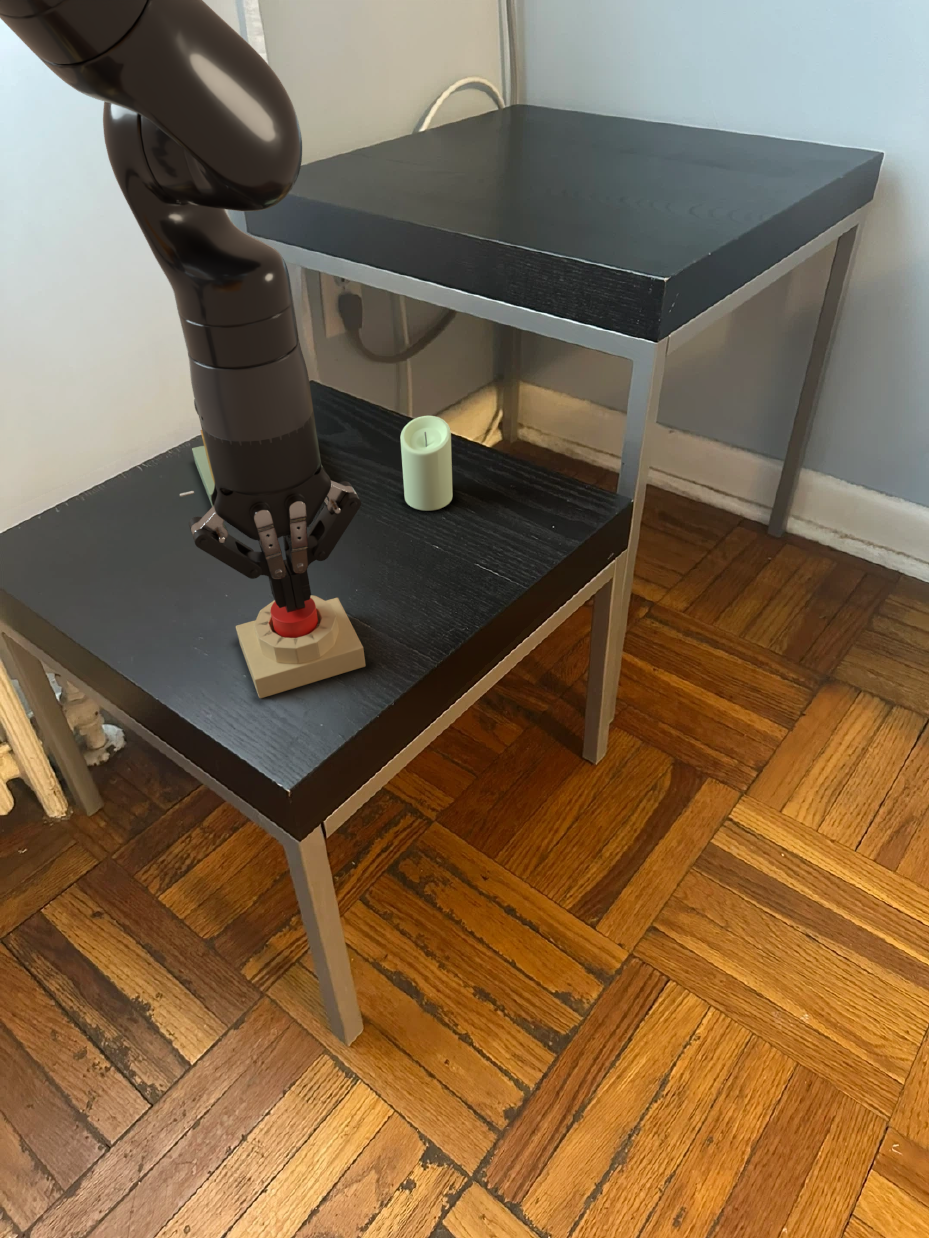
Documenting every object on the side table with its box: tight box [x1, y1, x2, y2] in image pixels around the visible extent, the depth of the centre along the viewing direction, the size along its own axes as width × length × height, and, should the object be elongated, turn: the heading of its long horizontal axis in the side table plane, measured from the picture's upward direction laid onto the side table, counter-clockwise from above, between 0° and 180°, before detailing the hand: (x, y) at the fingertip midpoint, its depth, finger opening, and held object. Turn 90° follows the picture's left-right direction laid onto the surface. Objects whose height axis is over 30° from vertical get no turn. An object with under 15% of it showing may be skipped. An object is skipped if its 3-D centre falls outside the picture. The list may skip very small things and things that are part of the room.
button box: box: [235, 594, 366, 699], centre depth 73 cm, size 9×7×4 cm
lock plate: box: [179, 445, 324, 508], centre depth 93 cm, size 15×13×2 cm
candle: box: [400, 415, 453, 512], centre depth 89 cm, size 5×5×8 cm
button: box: [270, 597, 318, 638], centre depth 71 cm, size 4×4×2 cm
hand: (293, 604), depth 70 cm, fingers closed
